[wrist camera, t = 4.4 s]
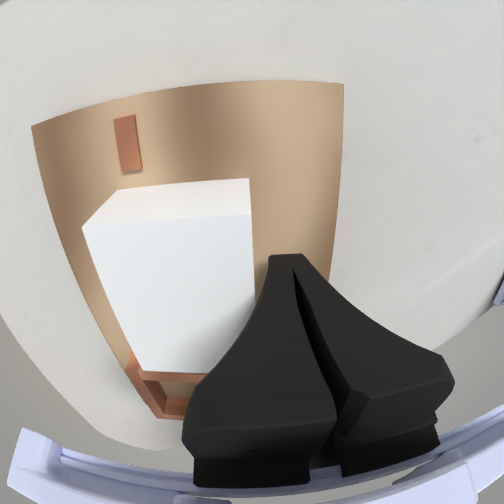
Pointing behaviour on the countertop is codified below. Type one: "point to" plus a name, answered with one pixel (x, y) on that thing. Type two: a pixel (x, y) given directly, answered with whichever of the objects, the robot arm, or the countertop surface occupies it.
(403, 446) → the robot arm
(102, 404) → the countertop surface
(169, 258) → the plain white cuboid
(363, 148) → the countertop surface
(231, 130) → the board
